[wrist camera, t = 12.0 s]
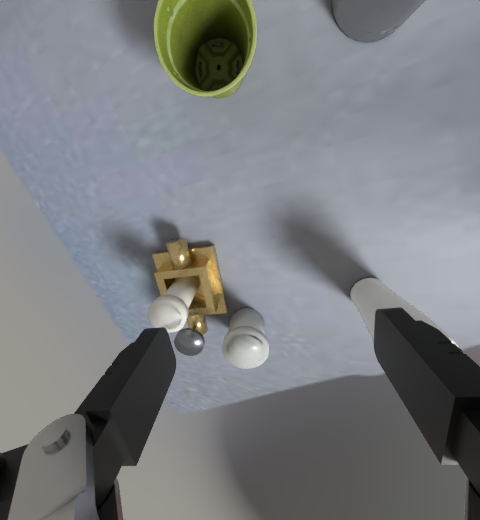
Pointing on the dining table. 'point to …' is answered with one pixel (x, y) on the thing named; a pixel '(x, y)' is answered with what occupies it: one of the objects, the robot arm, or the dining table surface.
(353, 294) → the white tall cylinder
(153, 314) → the white mushroom shaped knob
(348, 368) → the dining table surface
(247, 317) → the cylinder
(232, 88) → the plant pot
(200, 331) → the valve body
